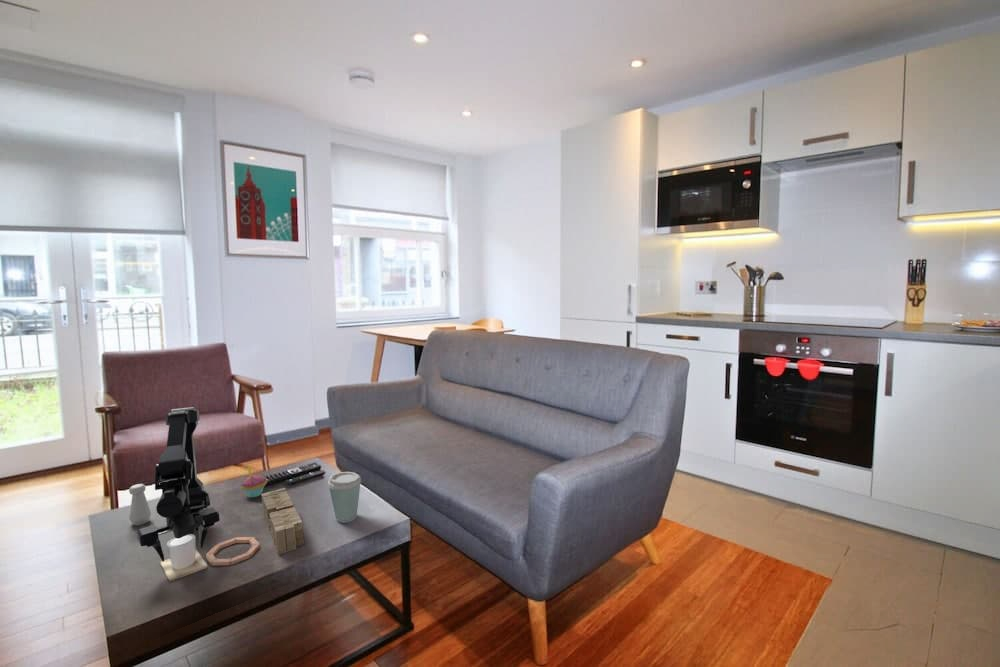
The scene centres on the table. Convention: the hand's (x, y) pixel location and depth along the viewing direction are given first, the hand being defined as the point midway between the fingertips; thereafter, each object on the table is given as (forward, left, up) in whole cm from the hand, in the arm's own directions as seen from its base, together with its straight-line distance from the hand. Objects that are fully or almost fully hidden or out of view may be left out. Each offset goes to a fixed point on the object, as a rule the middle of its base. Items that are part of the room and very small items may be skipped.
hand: (182, 553), depth 138 cm
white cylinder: (0, 0, -3) cm, 3 cm away
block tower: (+1, +27, -4) cm, 27 cm away
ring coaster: (+3, +12, -4) cm, 13 cm away
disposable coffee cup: (+9, +45, -4) cm, 46 cm away
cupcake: (-33, +30, -4) cm, 45 cm away
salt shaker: (-39, -4, -4) cm, 39 cm away
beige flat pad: (0, 0, -4) cm, 4 cm away
